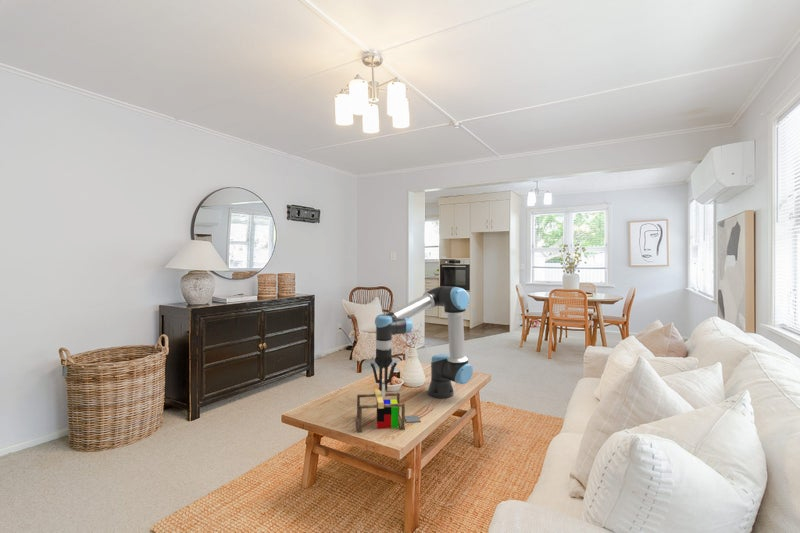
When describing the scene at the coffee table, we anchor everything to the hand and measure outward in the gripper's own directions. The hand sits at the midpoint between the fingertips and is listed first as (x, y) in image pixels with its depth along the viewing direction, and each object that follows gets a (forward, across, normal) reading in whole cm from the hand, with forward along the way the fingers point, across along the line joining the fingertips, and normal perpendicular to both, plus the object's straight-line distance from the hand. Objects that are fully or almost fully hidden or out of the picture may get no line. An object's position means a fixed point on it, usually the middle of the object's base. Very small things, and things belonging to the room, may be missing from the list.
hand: (383, 396), depth 184 cm
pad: (+13, -15, -3) cm, 20 cm away
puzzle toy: (+14, -2, 0) cm, 14 cm away
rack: (+13, +1, 0) cm, 13 cm away
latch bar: (+2, +2, 0) cm, 3 cm away
